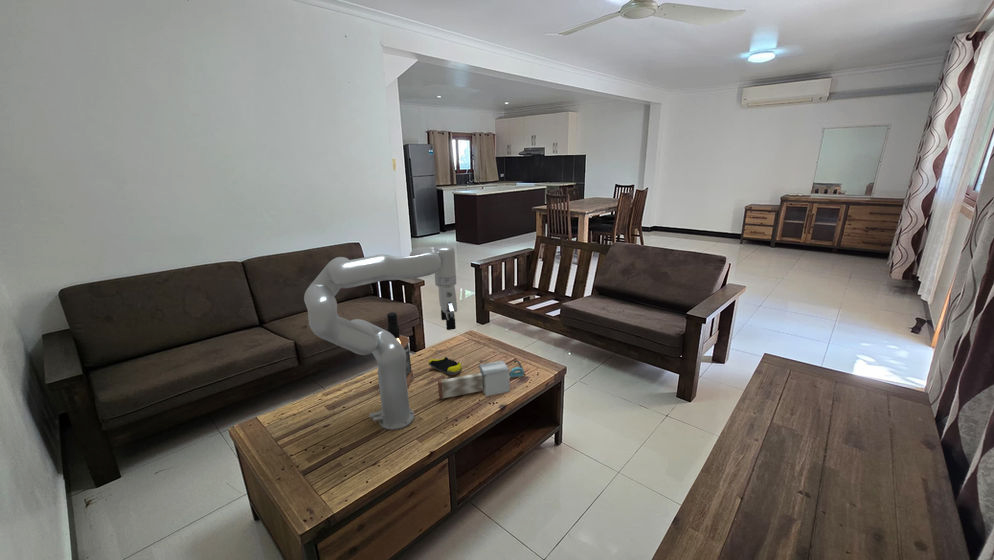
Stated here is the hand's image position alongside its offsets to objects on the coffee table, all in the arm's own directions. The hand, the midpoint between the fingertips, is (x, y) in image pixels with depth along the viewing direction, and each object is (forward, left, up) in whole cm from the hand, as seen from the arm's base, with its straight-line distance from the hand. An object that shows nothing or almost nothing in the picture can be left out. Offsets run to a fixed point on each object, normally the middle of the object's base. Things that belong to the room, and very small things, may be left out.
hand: (448, 324), depth 148 cm
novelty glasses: (+27, +14, -33) cm, 45 cm away
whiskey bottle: (-19, +20, -32) cm, 43 cm away
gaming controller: (+2, +23, -33) cm, 40 cm away
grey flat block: (+4, +2, -31) cm, 32 cm away
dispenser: (+18, +2, -32) cm, 37 cm away
